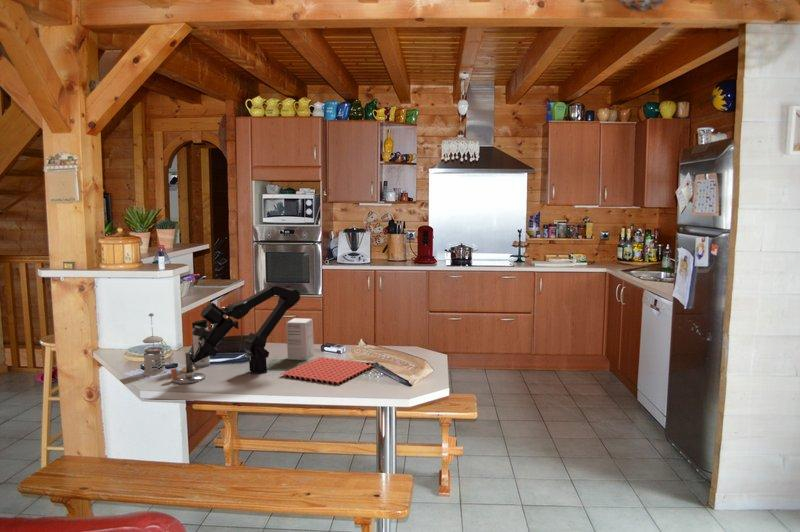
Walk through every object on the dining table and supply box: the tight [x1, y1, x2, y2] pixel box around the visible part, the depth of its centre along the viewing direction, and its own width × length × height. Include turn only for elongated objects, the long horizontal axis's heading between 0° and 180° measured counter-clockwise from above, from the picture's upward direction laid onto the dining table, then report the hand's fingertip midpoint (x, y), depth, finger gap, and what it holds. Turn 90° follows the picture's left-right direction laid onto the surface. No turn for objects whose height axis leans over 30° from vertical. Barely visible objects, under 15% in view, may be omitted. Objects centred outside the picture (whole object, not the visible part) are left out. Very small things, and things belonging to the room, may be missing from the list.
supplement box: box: [285, 317, 315, 361], centre depth 271 cm, size 10×9×17 cm
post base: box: [170, 367, 206, 385], centre depth 241 cm, size 12×12×5 cm
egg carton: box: [279, 356, 372, 387], centre depth 247 cm, size 28×28×2 cm
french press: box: [142, 312, 168, 377], centre depth 252 cm, size 10×12×25 cm
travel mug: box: [191, 319, 211, 368], centre depth 260 cm, size 6×7×20 cm
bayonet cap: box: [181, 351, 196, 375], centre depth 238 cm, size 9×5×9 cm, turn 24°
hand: (192, 361), depth 236 cm, fingers closed
